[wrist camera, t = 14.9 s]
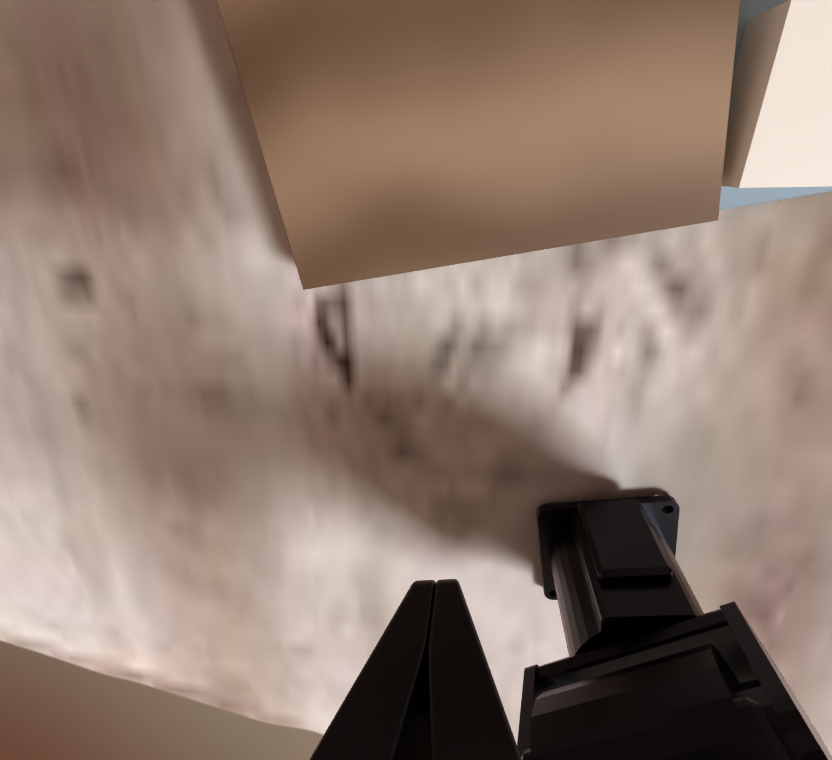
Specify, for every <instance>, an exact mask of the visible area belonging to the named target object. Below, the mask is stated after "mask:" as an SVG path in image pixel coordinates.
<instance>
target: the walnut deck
mask: <svg viewBox="0 0 832 760" xmlns="http://www.w3.org/2000/svg"><path fill="white" fill-rule="evenodd" d="M216 1H217V4H218V7H219V11H220V14H221V17H222V21H223V24H224V27H225V31H226V34H227V37H228V41H229V44H230V47H231V51H232V54H233V57H234V61H235V64H236V67H237V70H238V74H239V77H240V80H241V84H242V87H243V90H244V94H245V97H246V100H247V104H248V107H249V110H250V114H251V117H252V120H253V124H254V127H255V130H256V134H257V137H258V140H259V144H260V147H261V150H262V154H263V157H264V160H265V163H266V167H267V170H268V173H269V177H270V180H271V183H272V187H273V190H274V193H275V197H276V200H277V203H278V207H279V210H280V213H281V217H282V220H283V223H284V227H285V230H286V233H287V237H288V240H289V243H290V246H291V250H292V253H293V256H294V260H295V263H296V266H297V270H298V273H299V276H300V280H301V283H302V286H303V290H305V289H311V288H316V287H322V286H328V285H334V284H340V283H346V282H352V281H358V280H364V279H370V278H376V277H382V276H388V275H394V274H400V273H406V272H412V271H418V270H424V269H430V268H436V267H442V266H448V265H454V264H460V263H466V262H471V261H477V260H483V259H489V258H495V257H501V256H507V255H513V254H519V253H525V252H531V251H537V250H543V249H549V248H555V247H561V246H567V245H573V244H579V243H585V242H591V241H597V240H603V239H609V238H615V237H620V236H626V235H632V234H638V233H644V232H650V231H656V230H662V229H668V228H674V227H680V226H686V225H692V224H698V223H704V222H710V221H716V220H718V215H719V205H720V195H721V185H722V175H723V165H724V156H725V146H726V136H727V126H728V116H729V106H730V96H731V86H732V76H733V66H734V56H735V46H736V36H737V26H738V16H739V6H740V0H216Z"/></svg>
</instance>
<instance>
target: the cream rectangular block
mask: <svg viewBox="0 0 832 760" xmlns="http://www.w3.org/2000/svg"><path fill="white" fill-rule="evenodd" d="M721 186H726V187H735V188H766V187H827V186H832V0H788V1H786V2H784V3H782V4H780V5H778V6H776V7H774V8H772V9H770V10H768V11H766V12H764V13H761V14H759V15H757V16H755V17H753V18H751V19H749V20H747V24H746V28H745V32H744V36H743V40H742V44H741V48H740V52H739V56H738V60H737V64H736V68H735V72H734V76H733V80H732V86H731V96H730V106H729V116H728V126H727V136H726V146H725V156H724V165H723V175H722V185H721Z"/></svg>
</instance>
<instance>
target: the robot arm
mask: <svg viewBox="0 0 832 760" xmlns="http://www.w3.org/2000/svg"><path fill="white" fill-rule="evenodd" d="M668 505H669V506H668ZM665 506H668V507H665ZM663 507H665V508H663ZM547 513H548V514H550V515H547V516H546V515H545V514H547ZM536 514H537V525H538V536H539V547H540V558H541V569H542V579H543V589H544V594H545V596H546V597H547V598H548V599H552V600H558V604H559V609H560V614H561V618H562V623H563V628H564V633H565V638H566V643H567V648H568V652H569V657H567V658H564V659H561V660H557V661H554V662H551V663H548V664H545V665H542V666H538V665H537V664H536V665H533V666H530V667H527V668H525V670H524V680H523V691H522V701H521V712H520V722H519V733H518V743H517V745H516V742H515V739H514V736H513V733H512V730H511V728H510V725H509V722H508V719H507V716H506V714H505V711H504V708H503V705H502V702H501V699H500V697H499V694H498V691H497V688H496V685H495V683H494V680H493V677H492V674H491V671H490V669H489V666H488V663H487V660H486V657H485V654H484V652H483V649H482V646H481V643H480V640H479V638H478V635H477V632H476V629H475V626H474V623H473V621H472V618H471V615H470V612H469V609H468V607H467V604H466V601H465V598H464V595H463V592H462V590H461V587H460V584H459V582H458V581H457V580H456V579H445V580H438V581H437V582H435V581H434V580H422V581H415V582H414V583H413V584H412V585H411V587H410V589H409V590H408V592H407V594H406V595H405V597H404V599H403V601H402V602H401V604H400V606H399V607H398V609H397V611H396V613H395V614H394V616H393V618H392V619H391V621H390V623H389V625H388V626H387V628H386V630H385V631H384V633H383V635H382V636H381V638H380V640H379V642H378V643H377V645H376V647H375V648H374V650H373V652H372V654H371V655H370V657H369V659H368V660H367V662H366V664H365V666H364V667H363V669H362V671H361V672H360V674H359V676H358V677H357V679H356V681H355V683H354V684H353V686H352V688H351V689H350V691H349V693H348V695H347V696H346V698H345V700H344V701H343V703H342V705H341V707H340V708H339V710H338V712H337V713H336V715H335V717H334V719H333V720H332V722H331V724H330V725H329V727H328V729H327V730H326V732H325V734H324V736H323V737H322V739H321V741H320V742H319V744H318V746H317V748H316V749H315V751H314V753H313V754H312V756H311V758H310V760H832V756H831V754H830V753H829V751H828V749H827V748H826V746H825V744H824V742H823V741H822V739H821V737H820V736H819V734H818V732H817V731H816V729H815V727H814V726H813V724H812V723H811V721H810V719H809V718H808V716H807V714H806V713H805V711H804V710H803V708H802V706H801V705H800V703H799V701H798V700H797V698H796V697H795V695H794V693H793V692H792V690H791V688H790V687H789V685H788V684H787V682H786V680H785V679H784V677H783V675H782V674H781V672H780V671H779V669H778V668H777V666H776V664H775V663H774V661H773V660H772V658H771V657H770V655H769V654H768V652H767V651H766V649H765V648H764V646H763V644H762V643H761V641H760V640H759V638H758V637H757V635H756V634H755V632H754V631H753V629H752V628H751V626H750V625H749V623H748V621H747V620H746V618H745V617H744V615H743V614H742V612H741V611H740V609H739V608H738V606H737V605H736V603H735V602H731V603H728V604H725V605H722V606H720V608H721V609H719V610H715V611H712V612H709V613H706V614H704V613H703V611H702V609H701V607H700V605H699V603H698V601H697V599H696V597H695V595H694V594H693V592H692V590H691V588H690V586H689V584H688V582H687V580H686V578H685V576H684V574H683V572H682V570H681V569H680V567H679V565H678V563H677V561H676V559H675V553H676V541H677V530H678V519H679V505H678V504H677V502H676V500H675V499H674V498H673V497H671V496H652V497H638V498H624V499H610V500H596V501H582V502H568V503H554V504H544V505H541V506H539V507H538V509H537V511H536Z"/></svg>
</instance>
